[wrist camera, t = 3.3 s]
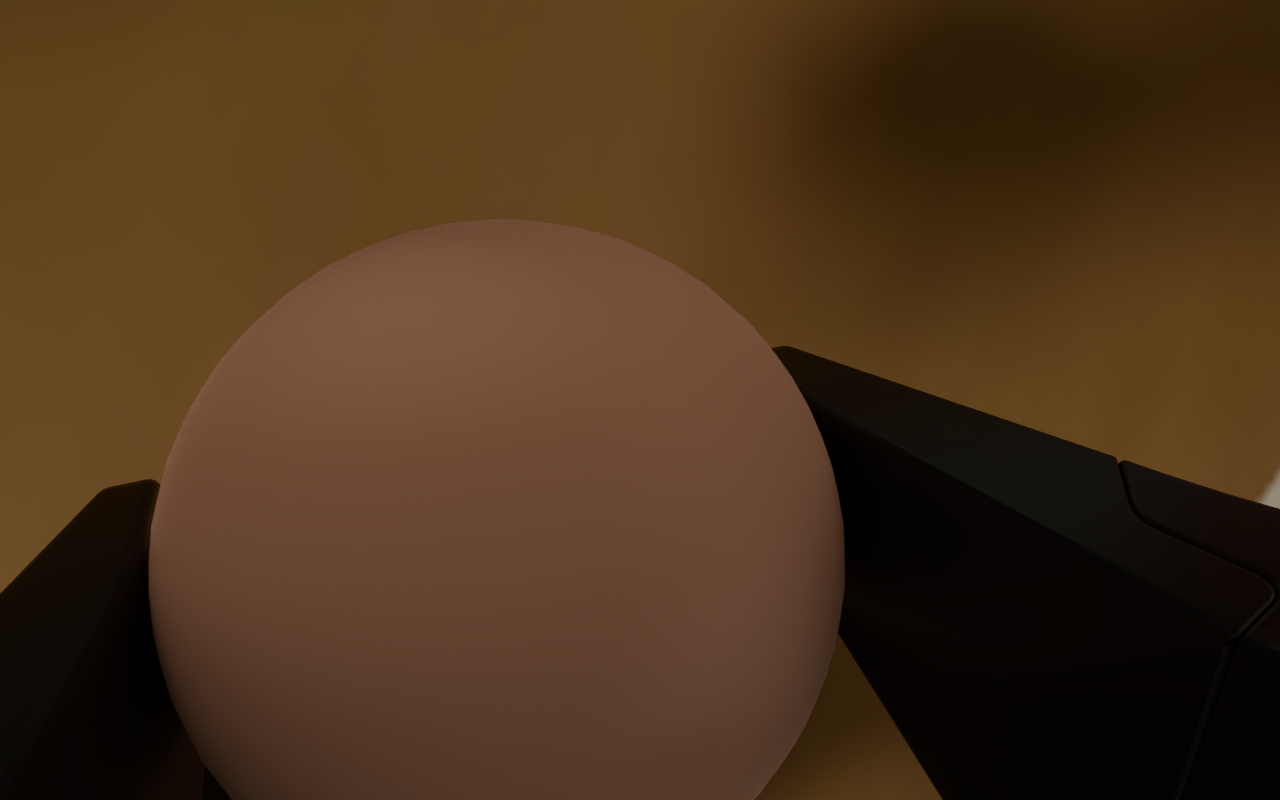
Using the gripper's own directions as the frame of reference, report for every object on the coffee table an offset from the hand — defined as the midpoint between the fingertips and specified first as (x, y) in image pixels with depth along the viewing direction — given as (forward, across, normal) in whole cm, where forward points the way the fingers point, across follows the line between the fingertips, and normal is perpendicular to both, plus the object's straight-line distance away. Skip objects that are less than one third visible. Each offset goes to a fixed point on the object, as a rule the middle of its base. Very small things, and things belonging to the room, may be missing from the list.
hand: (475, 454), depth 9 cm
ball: (+1, 0, 0) cm, 1 cm away
